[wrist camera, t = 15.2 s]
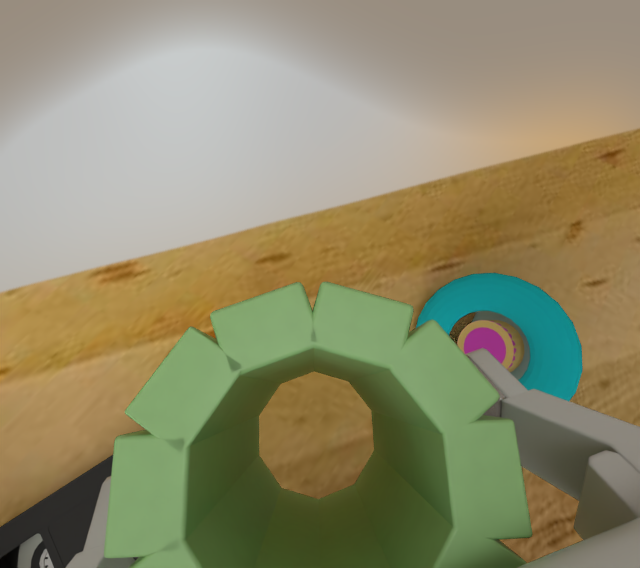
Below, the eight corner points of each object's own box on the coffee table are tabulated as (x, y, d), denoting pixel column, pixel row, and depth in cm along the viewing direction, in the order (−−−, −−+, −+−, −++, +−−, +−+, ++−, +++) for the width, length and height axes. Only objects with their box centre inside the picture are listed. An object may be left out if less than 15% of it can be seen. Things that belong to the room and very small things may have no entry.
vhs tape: (190, 409, 28) (181, 410, 26) (246, 512, 26) (240, 522, 24) (-2, 533, 25) (-28, 545, 23) (44, 655, 24) (21, 678, 22)
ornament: (588, 443, 24) (608, 283, 24) (569, 461, 21) (591, 279, 21) (434, 392, 32) (447, 271, 32) (403, 400, 29) (418, 267, 29)
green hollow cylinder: (328, 305, 15) (344, 213, 7) (445, 450, 14) (620, 529, 6) (187, 414, 14) (26, 444, 6) (300, 584, 12) (278, 901, 5)
